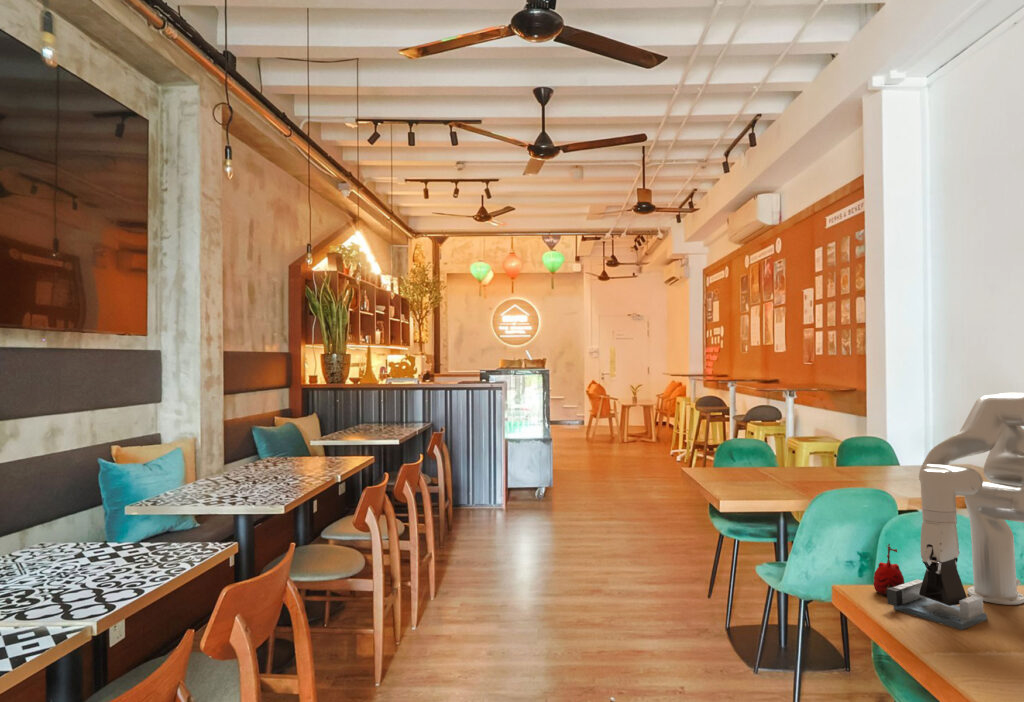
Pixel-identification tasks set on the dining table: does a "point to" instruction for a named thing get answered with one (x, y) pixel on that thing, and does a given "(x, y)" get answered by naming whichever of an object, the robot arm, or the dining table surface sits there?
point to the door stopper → (945, 585)
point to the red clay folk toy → (887, 575)
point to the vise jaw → (904, 593)
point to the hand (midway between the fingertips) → (942, 584)
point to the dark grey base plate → (947, 611)
